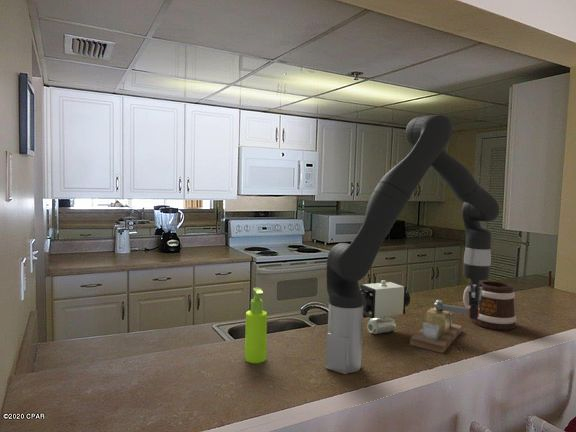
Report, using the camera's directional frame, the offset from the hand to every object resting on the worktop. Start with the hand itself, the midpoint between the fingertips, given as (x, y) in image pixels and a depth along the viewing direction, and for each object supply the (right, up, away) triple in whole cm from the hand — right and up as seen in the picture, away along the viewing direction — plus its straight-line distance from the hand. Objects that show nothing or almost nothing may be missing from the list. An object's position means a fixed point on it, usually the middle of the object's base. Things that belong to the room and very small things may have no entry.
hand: (473, 318), depth 125 cm
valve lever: (-3, 0, +5) cm, 6 cm away
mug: (+17, -8, +26) cm, 32 cm away
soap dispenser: (-66, -8, -13) cm, 68 cm away
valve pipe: (-8, -6, +8) cm, 13 cm away
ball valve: (-26, -8, +12) cm, 30 cm away
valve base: (-8, -8, +8) cm, 14 cm away
